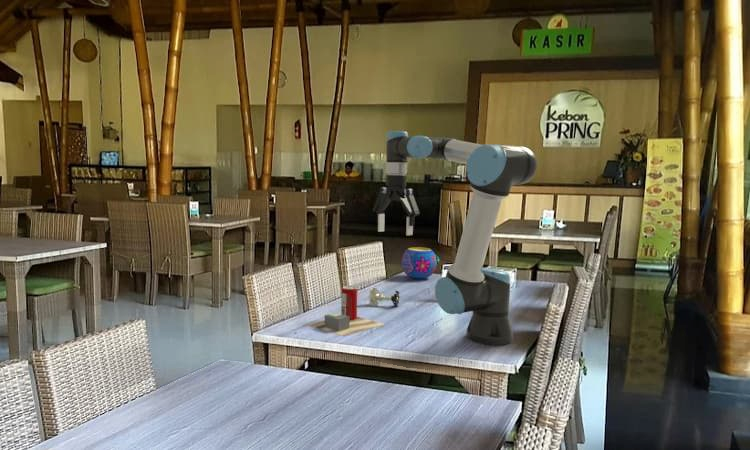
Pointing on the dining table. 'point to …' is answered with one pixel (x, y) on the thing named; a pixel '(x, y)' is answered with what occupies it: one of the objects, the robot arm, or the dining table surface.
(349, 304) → the soda can
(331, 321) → the block
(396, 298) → the valve
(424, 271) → the ceramic pot
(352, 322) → the panel
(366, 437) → the dining table surface
